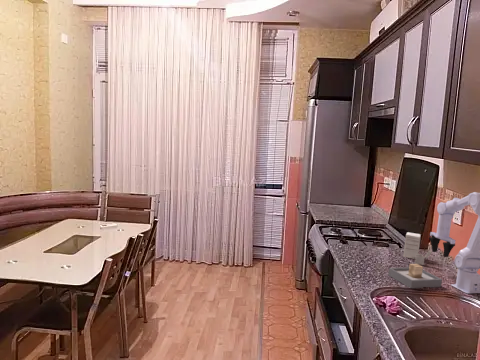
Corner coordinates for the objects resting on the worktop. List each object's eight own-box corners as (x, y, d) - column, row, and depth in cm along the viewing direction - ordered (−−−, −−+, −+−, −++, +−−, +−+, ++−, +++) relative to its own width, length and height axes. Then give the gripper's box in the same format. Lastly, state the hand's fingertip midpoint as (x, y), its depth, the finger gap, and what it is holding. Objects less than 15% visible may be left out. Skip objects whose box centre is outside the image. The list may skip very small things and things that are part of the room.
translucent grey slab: (415, 263, 219) (417, 248, 218) (414, 262, 221) (416, 248, 219) (429, 266, 216) (431, 251, 215) (429, 265, 218) (431, 250, 217)
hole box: (441, 286, 187) (442, 279, 186) (410, 288, 182) (411, 280, 182) (416, 274, 202) (417, 267, 202) (388, 275, 198) (389, 267, 197)
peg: (420, 281, 191) (422, 266, 190) (413, 281, 190) (415, 266, 189) (415, 278, 195) (416, 263, 194) (407, 278, 194) (409, 263, 193)
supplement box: (404, 253, 237) (407, 231, 235) (418, 256, 233) (421, 234, 232) (402, 256, 230) (405, 234, 228) (417, 259, 227) (420, 236, 225)
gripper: (426, 223, 210) (423, 249, 211) (448, 231, 196) (444, 259, 198) (438, 223, 212) (434, 249, 213) (460, 231, 198) (456, 258, 200)
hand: (440, 254), depth 206 cm, fingers open, 7 cm apart
